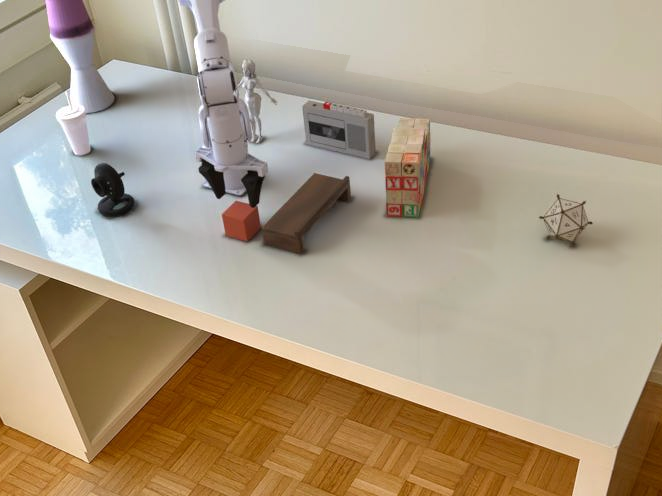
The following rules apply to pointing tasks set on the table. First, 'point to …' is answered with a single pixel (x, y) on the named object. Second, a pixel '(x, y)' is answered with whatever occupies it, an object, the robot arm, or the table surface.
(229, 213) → the block
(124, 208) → the webcam
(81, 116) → the smoothie
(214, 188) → the robot arm
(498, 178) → the table surface
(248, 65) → the human figurine
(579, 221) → the game die
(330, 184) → the shelf
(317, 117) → the cassette player
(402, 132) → the stack of blocks
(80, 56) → the lamp
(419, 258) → the table surface
